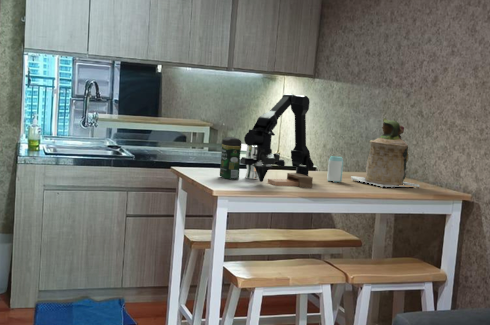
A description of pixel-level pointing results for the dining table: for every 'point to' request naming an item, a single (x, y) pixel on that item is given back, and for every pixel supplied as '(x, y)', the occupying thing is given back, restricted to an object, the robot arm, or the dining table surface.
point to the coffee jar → (230, 158)
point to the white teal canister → (335, 169)
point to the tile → (283, 182)
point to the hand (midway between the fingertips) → (261, 181)
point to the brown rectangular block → (301, 179)
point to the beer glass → (251, 169)
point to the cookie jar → (387, 158)
